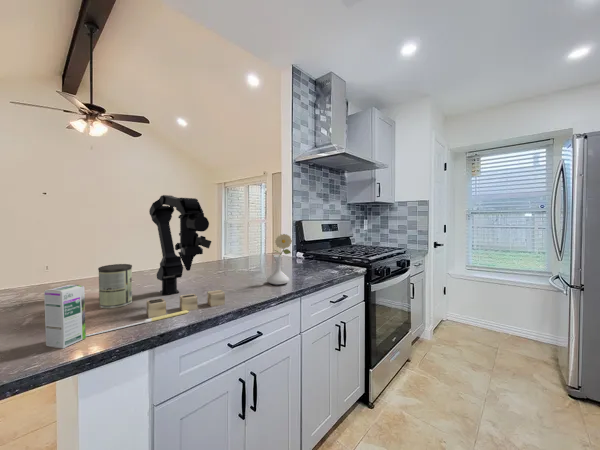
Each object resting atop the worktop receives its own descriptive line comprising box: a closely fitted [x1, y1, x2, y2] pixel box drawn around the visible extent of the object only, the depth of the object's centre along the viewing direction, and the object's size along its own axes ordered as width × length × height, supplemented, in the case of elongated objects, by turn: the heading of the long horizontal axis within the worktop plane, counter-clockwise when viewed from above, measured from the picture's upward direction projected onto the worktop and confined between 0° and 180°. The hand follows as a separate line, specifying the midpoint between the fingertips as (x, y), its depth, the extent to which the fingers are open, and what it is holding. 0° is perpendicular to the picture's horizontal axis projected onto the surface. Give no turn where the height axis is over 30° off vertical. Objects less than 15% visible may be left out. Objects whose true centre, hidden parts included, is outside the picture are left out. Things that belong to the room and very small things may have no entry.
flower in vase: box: [266, 233, 293, 285], centre depth 132 cm, size 13×11×25 cm
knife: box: [86, 310, 189, 337], centre depth 81 cm, size 1×33×4 cm
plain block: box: [206, 289, 226, 308], centre depth 101 cm, size 5×5×4 cm
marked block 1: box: [145, 298, 167, 319], centre depth 89 cm, size 5×5×5 cm
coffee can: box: [97, 263, 133, 309], centre depth 99 cm, size 10×10×14 cm
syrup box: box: [43, 284, 87, 349], centre depth 69 cm, size 6×6×14 cm
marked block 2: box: [179, 293, 198, 311], centre depth 95 cm, size 5×5×5 cm
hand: (188, 270), depth 103 cm, fingers closed
